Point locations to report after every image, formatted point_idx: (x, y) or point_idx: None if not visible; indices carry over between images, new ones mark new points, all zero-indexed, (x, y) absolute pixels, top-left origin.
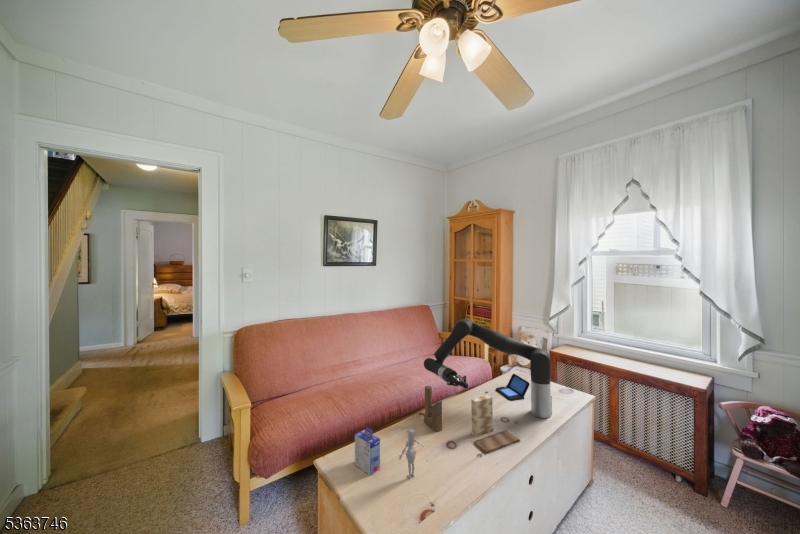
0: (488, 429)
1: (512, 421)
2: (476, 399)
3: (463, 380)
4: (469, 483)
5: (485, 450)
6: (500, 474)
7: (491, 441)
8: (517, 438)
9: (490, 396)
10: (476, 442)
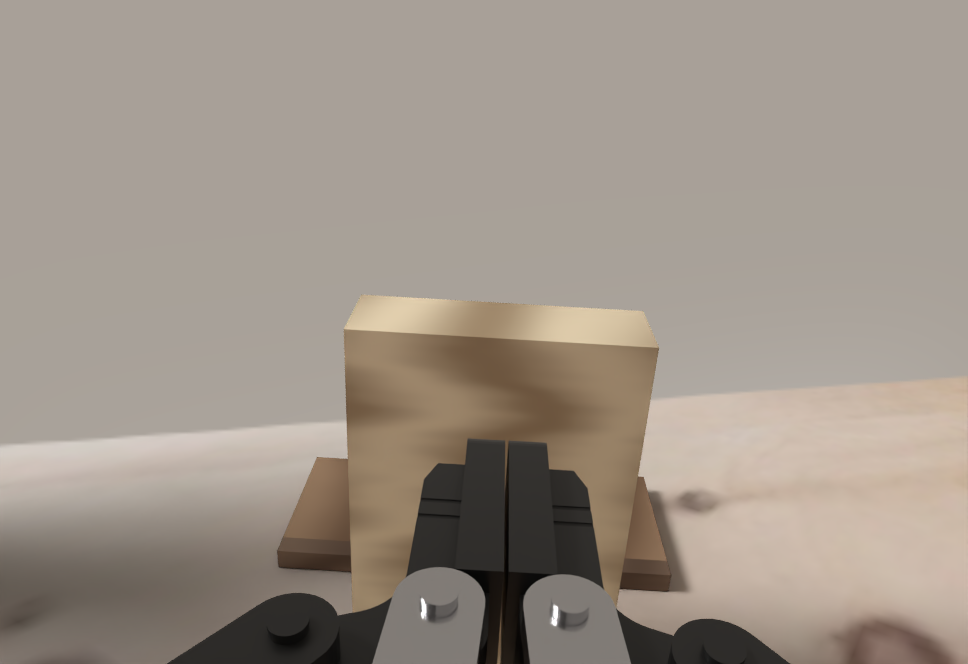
0: None
1: (20, 643)
2: (590, 327)
3: (415, 595)
4: (852, 421)
5: (643, 484)
6: (660, 399)
7: None
8: (322, 466)
9: (359, 306)
10: (659, 556)
